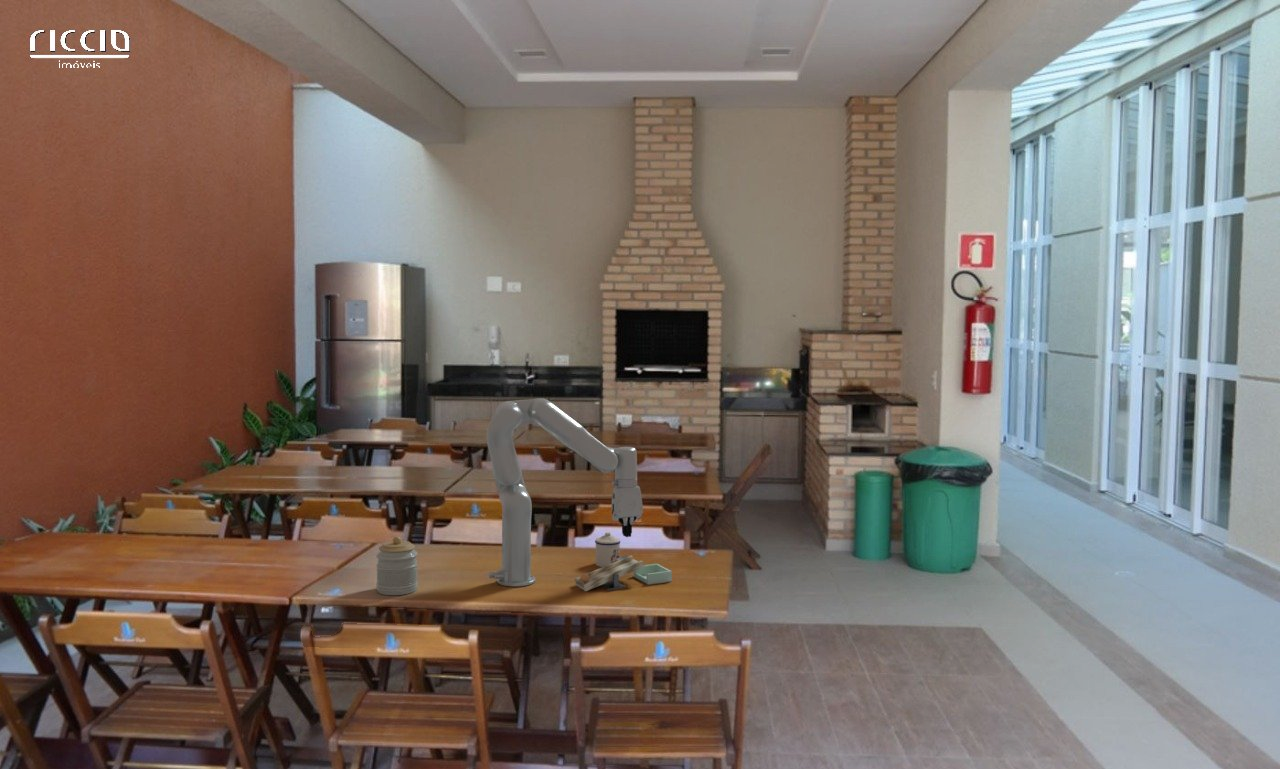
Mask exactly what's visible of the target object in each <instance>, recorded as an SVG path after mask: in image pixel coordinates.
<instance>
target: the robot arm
mask: <svg viewBox="0 0 1280 769" xmlns="http://www.w3.org/2000/svg"><path fill="white" fill-rule="evenodd" d="M528 424H529V425H530V424H537V425H538V426H539V427H541V428H542V429H544V430H545V431H546V432H548V433H549V434H550V435H552V436H553V438H556V439H557V440H558V441H559V442H560V443H562V444H563V445H564V446H566V447H567V448H569V449H570V450H571V451H573V452H575V453H577V454H578V455H579V456H581V457H582V458H583V459H585V460H586V461H588V462H589V463H590V464H591V465H593V467H595V468H596V469H597V470H599V471H601V472H602V473H606V474H607V473H611V472H613V471H614V480H613V481H611V485H612V486H614V487H613V489H612V495H611V496H612V497H611V515H612V516H611V520H612V521H614V522H618V523H620V525H621V533H622V536H624V537H626V538H628V537H632V533H633V525H634V523H635V521H636V520H637V519H640V518H641V517H642V515H643V513H644V512H643V508H644V507H643V498H642V497H643V496H642V491H641V487H640V486H639V485H638V454H637V452H638V451H637V449H636V448H635V447H632V446H620V447H609V446H606V445H605V444H603V443H602V442H601V441H600V440H598V439H597V438H595V436H593V435H592V434H591V433H590V432H588V430H587V429H585V428H584V426H583V425H581V424H580V423H579V422H578V421H576V419H573V418H572V417H570V415H569V414H567V413H566V412H564V411H563V410H562V409H560V408H559V407H558V406H557V405H556V404H554V403H552V402H551V401H550V400H549V399H547V398H543V397H541V398H540V397H538V398H530V399H518V400H506V401H503V402H501V403H500V404H498V405H497V406H496V408H495V412H494V415H493V417H492V418H491V419H490V421H489V423H488V424H487V425H488V426H487V429H486V443H487V450H488V452H489V457H490V460H491V463H492V464H491V473H492V476H493V480H494V483H495V487H496V489H497V494H498V497H499V501H500V504H501V508H502V510H501V511H502V513H501V514H502V520H501V537H502V538H501V564H502V565H501V567H499V568H498V569H499V570H497V571H491V572H490V571H489V572H488V573H487V579H494V580H497V584H499V585H501V586H504V587H517V588H518V587H526V586H530V585H532V584H534V583H535V582H536V576H534V575H533V574H532V573H531V568H532V566H531V565H532V564H531V563H532V562H531V561H532V559H531V555H532V554H531V553H532V552H531V551H532V548H531V547H532V545H531V541H532V536H531V535H532V533H531V532H532V531H531V530H532V529H531V528H532V526H531V525H532V511H533V509H532V508H533V505H532V499H531V496H530V494H529V492H528V491H527V488H526V485H525V480H524V477H523V472H522V471H523V469H522V465H521V462H520V461H519V457H518V455H517V454H518V453H517V451H516V448H515V442H514V439H513V438H514V432H515V429H517V428H518V427H519V426H520V425H528Z"/></svg>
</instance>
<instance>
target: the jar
mask: <svg viewBox="0 0 1280 769" xmlns="http://www.w3.org/2000/svg"><path fill="white" fill-rule="evenodd" d="M415 549H416V546H415V544H413V543H411V542H410V541H409V540H402V538H401V537H400V536H397V535H396V536H394V537H393V539H392V540H390V541H389V540H388V541H386V542H384V543H383V544H382V545H380V546H378V550H379V552H377V554H376V555H375V556H376V558H377V563H376V584H375V585H376V590H377V593H379V594H381V595H386V596H402V595H408V594H411V593H412V594H413V593H414V592H417V590H418V585H419V584H418V583H419V582H418V564H419V563H418V562H417V556H418V554H419V553H418V551H417V550H415Z"/></svg>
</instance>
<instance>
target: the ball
mask: <svg viewBox="0 0 1280 769" xmlns="http://www.w3.org/2000/svg"><path fill="white" fill-rule="evenodd" d="M579 577H580V580H581V581H582V582H584V583H588V582H589V580H590V577H589V575H588V573H582V574H580V576H579Z"/></svg>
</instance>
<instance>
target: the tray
mask: <svg viewBox="0 0 1280 769" xmlns="http://www.w3.org/2000/svg"><path fill="white" fill-rule="evenodd" d="M632 573H633V576H632V577H634V578H635V579H637V580H639V581H641V582H643V583H644V584H646V585H648V586H649V585H655V584H663V583H670V582H672V581H673V570H671V569H668V568H666V566H665V567H664V566H662V565H660V564H659V563H651V564H644V567H643V568H640V569H638V570H636V571H633V572H632Z"/></svg>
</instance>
